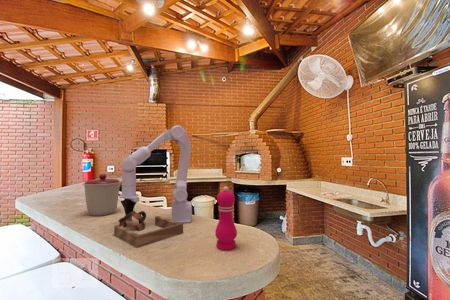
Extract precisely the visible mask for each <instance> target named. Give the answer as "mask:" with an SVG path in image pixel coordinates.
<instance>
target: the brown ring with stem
mask: <svg viewBox="0 0 450 300" xmlns="http://www.w3.org/2000/svg"><path fill="white" fill-rule="evenodd" d="M133 218H134V219H136V220H137V221H138V224H137V226H136V227H137V230H138V231H139V232H140V231H141V230H144V228H145V227H146V225H145V220H146V219H147V213H146V211H144V210H140V211H139V212H136V211H135V210H133V211H132V212H130V213H129V214H127V215H124V216H123V217H121V218H120V219H118V222H119V224H118V225H119V226H121V227H123V228H126V227H127V225H128V223H127V222H129V223H130V222H131V223H132V222H133Z"/></svg>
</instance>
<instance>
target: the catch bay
mask: <svg viewBox="0 0 450 300" xmlns="http://www.w3.org/2000/svg"><path fill="white" fill-rule="evenodd" d="M154 225H155V226H157V227H160V228H158V229H155V230H151V231H147V232H145V233H144V232H143V233H140V234H139V233H136V232H134V231H132V230H129V229H128V228H126V227H123V226H119V224H116V225H114V227H113V231H114V232H113V233H114V234H113V235H114V236H115V237H117V238H118V239H120V240H121V241H122V240H123V241H125V242H126V243H128V244H130V245H132V246H133V247H134V248H135V247H136V248H140V247H143V246H147V245H150V244H152V243H153V244H154V243H155V242H159V241H162V240H165V239H168V238H172V237H175V236H177V235H182V234H184V224H183V223H178V222H175V221H172V220H171V219H168V218H165V217H162V216H159V215H156V216H154Z"/></svg>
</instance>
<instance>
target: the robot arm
mask: <svg viewBox="0 0 450 300" xmlns="http://www.w3.org/2000/svg"><path fill="white" fill-rule="evenodd" d="M171 140H172V141H173V142H176V144H177V145H178V146H179V148H180V151H179V159H178V165H177V172H176V179H175V182H174V183H175V184H174V186H173V188H172V190H171V196H172V197H173V199H172V200H171V218H170V220H172V221H175V222H178V223H181V224H183V223H185V224H186V223H191V222H192V219H193V201H188V192H187V188H188V187H187V179H188V174H189V173H188V171H189V165H190V158H191V157H190V156H191V152H192V151H191V150H192V143H191V139H190V138H189V136H188V134H187V130H186V129H184V127H183V126H181V125H179V124H178V125H174V126H172V127H171V128H169V129H167V130H165V131H164V132H163V133H161V134H159V135H158V136H157V137H156V138H155V139H154V140H153V141H151V142H150V143H149V144H148V145H147V146H143V145H142V146H141V147H140V146H138V147H137V148H136V150H135V151H134V152H132V153H131V154H128V155H127V157H126V158H124V159H123V160H122V161H121V168H122V171H121V173H122V174H121V193H119V196H118V199H123V200H120V203H121V205H122V207H123V210H124V213H125V215H124V216H126V215H127V214H129V213H130V212H132V211H134V209H135V205H136V204H137V203H139V202H140V196H138V195H137V174H136V168H137V166H139V165H141V164H143V163H144V162H145V161H146V160H147V159H149V158H151V154H152V151H154V150H155V149H157V148H158V147H159V146H160V145H162V144H163V143H165V142H169V141H171Z"/></svg>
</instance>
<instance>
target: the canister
mask: <svg viewBox="0 0 450 300" xmlns="http://www.w3.org/2000/svg"><path fill="white" fill-rule="evenodd" d="M121 184H122V180H119V179H117V178H107V174H106V173H101V174H99V175H98V178H96V179H89V180H87V181H84V182H83V183H82V186H84V194H85V195H84V196H85V202H86V203H85V204H86V210H87V212H88V214H89V215H90V216H95V217H96V216H97V217H98V216H107V215H111V214H113V213H115V212H116V210H117V207H118V204H119V196H120V186H121Z"/></svg>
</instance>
